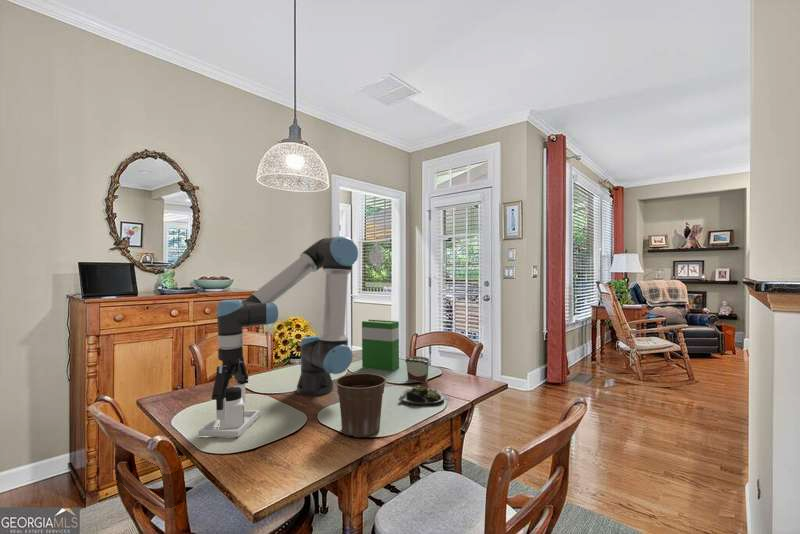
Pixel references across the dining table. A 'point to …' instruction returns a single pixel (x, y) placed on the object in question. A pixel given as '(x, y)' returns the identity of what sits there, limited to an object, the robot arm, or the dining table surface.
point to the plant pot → (360, 403)
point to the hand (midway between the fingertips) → (231, 410)
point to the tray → (232, 432)
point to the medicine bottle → (233, 409)
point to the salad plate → (421, 396)
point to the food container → (417, 368)
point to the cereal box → (380, 345)
